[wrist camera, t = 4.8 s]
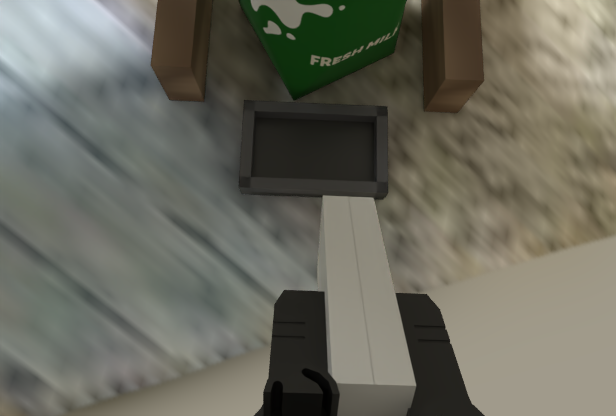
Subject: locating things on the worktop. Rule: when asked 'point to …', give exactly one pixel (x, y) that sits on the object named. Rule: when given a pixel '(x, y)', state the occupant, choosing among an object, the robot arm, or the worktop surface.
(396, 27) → the soya milk
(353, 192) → the pit tray
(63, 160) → the worktop surface
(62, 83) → the worktop surface
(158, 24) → the channel
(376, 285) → the robot arm
